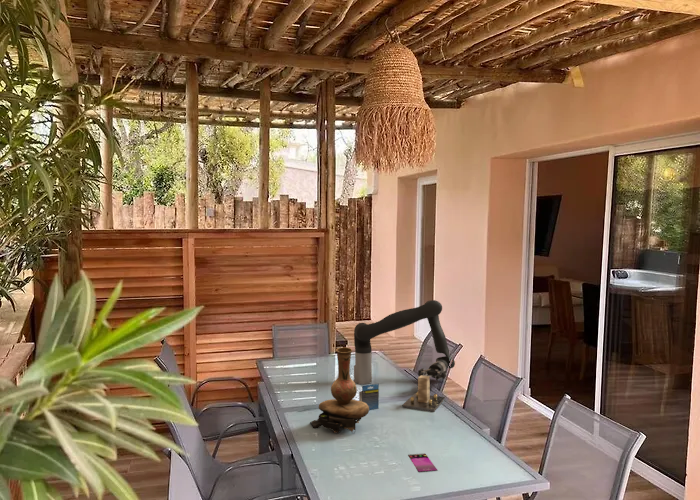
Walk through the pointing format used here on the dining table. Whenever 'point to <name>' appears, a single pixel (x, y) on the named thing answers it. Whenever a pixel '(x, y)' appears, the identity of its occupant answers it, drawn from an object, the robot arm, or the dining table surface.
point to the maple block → (423, 389)
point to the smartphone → (422, 462)
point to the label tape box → (370, 396)
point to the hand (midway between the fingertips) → (428, 376)
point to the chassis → (429, 406)
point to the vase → (342, 399)
